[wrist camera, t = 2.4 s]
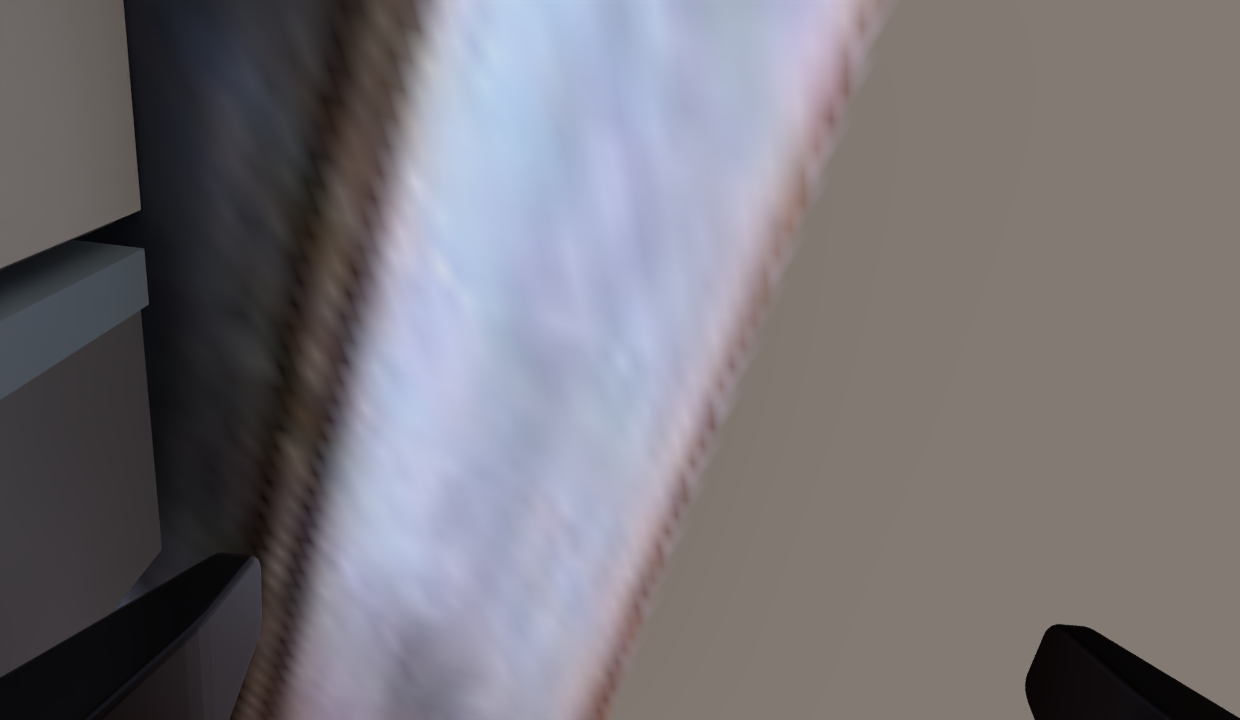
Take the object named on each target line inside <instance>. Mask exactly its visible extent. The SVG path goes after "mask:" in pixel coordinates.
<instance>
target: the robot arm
mask: <svg viewBox="0 0 1240 720" xmlns="http://www.w3.org/2000/svg"><path fill="white" fill-rule="evenodd" d="M261 623H262V598H261V568H260V563H259V560H258V559H257V558H256V557H255V556H253V555H247V554H235V553H216V554H214V555H212V556H210V557H208V558H206V559H205V560H203V561H201V562H199V563H198V564H196V565H194V566H193V567H191V568H189V569H187V570H186V571H184V572H182V573H180V574H179V575H177V576H175V577H173V578H172V579H170V580H168V581H166V582H165V583H163V584H161V585H160V586H158V587H156V588H154V589H153V590H151V591H149V592H147V593H146V594H144V595H142V596H140V597H139V598H137V599H135V600H133V601H132V602H130V603H128V604H127V605H125V606H123V607H121V608H120V609H118V610H116V611H114V612H113V613H111V614H109V615H107V616H106V617H104V618H102V619H100V620H99V621H97V622H95V623H94V624H92V625H90V626H88V627H87V628H85V629H83V630H81V631H80V632H78V633H76V634H74V635H73V636H71V637H69V638H67V639H66V640H64V641H62V642H61V643H59V644H57V645H55V646H54V647H52V648H50V649H48V650H47V651H45V652H43V653H41V654H40V655H38V656H36V657H34V658H33V659H31V660H29V661H28V662H26V663H24V664H22V665H21V666H19V667H17V668H15V669H14V670H12V671H10V672H8V673H7V674H5V675H3V676H1V677H0V720H229V718H230V716H231V713H232V710H233V707H234V705H235V702H236V699H237V696H238V694H239V691H240V688H241V685H242V683H243V680H244V677H245V674H246V672H247V669H248V666H249V663H250V661H251V658H252V655H253V652H254V650H255V647H256V644H257V641H258V638H259V634H260V630H261ZM1025 691H1026V696H1027V700H1028V703H1029V706H1030V708H1031V711H1032V714H1033V716H1034V719H1035V720H1240V718H1238V717H1237V716H1235V715H1234V714H1232V713H1230V712H1229V711H1227V710H1225V709H1224V708H1222V707H1220V706H1219V705H1217V704H1215V703H1214V702H1212V701H1210V700H1209V699H1207V698H1205V697H1204V696H1202V695H1200V694H1199V693H1197V692H1196V691H1194V690H1192V689H1190V688H1189V687H1187V686H1185V685H1184V684H1182V683H1181V682H1179V681H1177V680H1176V679H1174V678H1172V677H1171V676H1169V675H1167V674H1166V673H1164V672H1162V671H1161V670H1159V669H1157V668H1156V667H1154V666H1152V665H1151V664H1149V663H1148V662H1146V661H1144V660H1143V659H1141V658H1139V657H1138V656H1136V655H1134V654H1133V653H1131V652H1129V651H1128V650H1126V649H1124V648H1123V647H1121V646H1119V645H1118V644H1116V643H1114V642H1113V641H1111V640H1109V639H1108V638H1106V637H1105V636H1103V635H1101V634H1100V633H1098V632H1096V631H1095V630H1093V629H1091V628H1088V627H1084V626H1075V625H1074V626H1073V625H1063V624H1056V625H1053V626H1051V627H1050V628H1049V629H1048V630H1046V632H1045V634H1044V636H1043V638H1042V641H1041V643H1040V646H1039V648H1038V650H1037V653H1036V655H1035V657H1034V660H1033V662H1032V664H1031V667H1030V669H1029V671H1028V674H1027V677H1026V683H1025Z"/></svg>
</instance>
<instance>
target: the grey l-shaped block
mask: <svg viewBox="0 0 1240 720" xmlns="http://www.w3.org/2000/svg"><path fill="white" fill-rule="evenodd" d="M147 305H149V299H148V287H147V275H146V263H145V252H144V248H136V247H128V246H119V245H111V244H102V243H94V242H85V241H77V240H72V241H70V242H67V243H65V244H63V245H60V246H58V247H55V248H53V249H51V250H48V251H46V252H44V253H41V254H39V255H36V256H34V257H32V258H29V259H27V260H24V261H22V262H20V263H17V264H15V265H13V266H10V267H8V268H5V269H3V270H1V271H0V677H1V676H3V675H5V674H7V673H8V672H10V671H12V670H14V669H15V668H17V667H19V666H21V665H22V664H24V663H26V662H28V661H29V660H31V659H33V658H34V657H36V656H38V655H40V654H41V653H43V652H45V651H47V650H48V649H50V648H52V647H54V646H55V645H57V644H59V643H61V642H62V641H64V640H66V639H67V638H69V637H71V636H73V635H74V634H76V633H78V632H80V631H81V630H83V629H85V628H87V627H88V626H90V625H92V624H94V623H95V622H97V621H99V620H100V619H102V618H104V617H106V616H107V615H109V614H111V613H112V611H113V610H114V609H115V608H116V606H117V605H118V604H119V603H120V601H121V600H122V599H123V598H124V596H125V595H126V594H127V593H128V591H129V590H130V589H131V588H132V586H133V585H134V584H135V583H136V581H137V580H138V579H139V578H140V576H141V575H142V574H143V573H144V571H145V570H146V569H147V568H148V566H149V565H150V564H151V563H152V561H153V560H154V559H155V558H156V556H157V555H158V554H159V553H160V551H161V550H162V544H161V533H160V521H159V510H158V499H157V488H156V476H155V465H154V454H153V443H152V431H151V420H150V409H149V398H148V386H147V375H146V364H145V353H144V341H143V330H142V319H141V309H142V308H144V307H146V306H147Z"/></svg>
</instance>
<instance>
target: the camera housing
mask: <svg viewBox="0 0 1240 720" xmlns="http://www.w3.org/2000/svg"><path fill="white" fill-rule="evenodd" d="M140 210H141V204H140V192H139V180H138V168H137V156H136V145H135V133H134V121H133V109H132V97H131V85H130V74H129V62H128V50H127V38H126V26H125V14H124V3H123V0H0V271H1V270H3V269H5V268H8V267H10V266H13V265H15V264H17V263H20V262H22V261H24V260H27V259H29V258H32V257H34V256H36V255H39V254H41V253H44V252H46V251H48V250H51V249H53V248H55V247H58V246H60V245H63V244H65V243H67V242H70V241H72V240H75V239H77V238H79V237H82V236H84V235H87V234H89V233H91V232H94V231H96V230H98V229H101V228H103V227H106V226H108V225H110V224H113V223H115V221H116V220H118V219H121V218H123V217H125V216H128V215H130V214H133V213H135V212H137V211H140Z"/></svg>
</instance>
